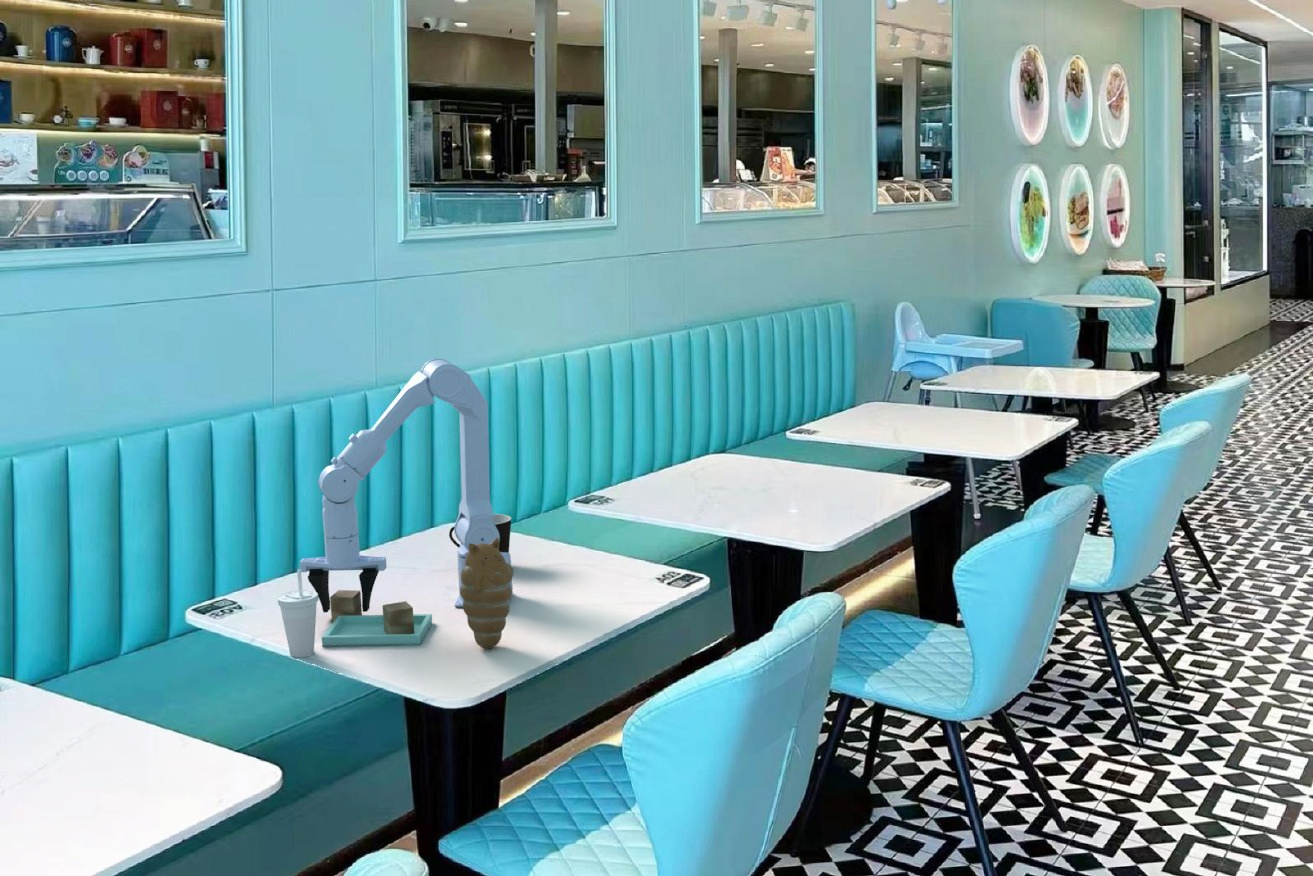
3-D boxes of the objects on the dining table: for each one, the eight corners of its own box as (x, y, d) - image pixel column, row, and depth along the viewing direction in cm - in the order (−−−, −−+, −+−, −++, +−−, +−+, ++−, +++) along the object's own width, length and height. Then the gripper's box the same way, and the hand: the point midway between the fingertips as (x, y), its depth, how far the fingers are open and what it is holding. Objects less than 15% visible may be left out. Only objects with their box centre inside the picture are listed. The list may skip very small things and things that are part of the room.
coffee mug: (522, 566, 258) (520, 516, 256) (494, 577, 251) (492, 526, 249) (476, 558, 264) (474, 510, 262) (448, 569, 257) (445, 520, 255)
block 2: (407, 626, 223) (405, 601, 222) (414, 633, 219) (412, 607, 218) (384, 630, 221) (382, 605, 220) (390, 637, 217) (389, 611, 217)
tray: (432, 623, 225) (431, 614, 225) (420, 645, 214) (419, 635, 214) (339, 624, 225) (338, 615, 225) (322, 646, 215) (321, 637, 214)
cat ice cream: (476, 660, 207) (470, 550, 203) (452, 647, 213) (447, 539, 209) (524, 648, 212) (520, 540, 208) (500, 635, 218) (495, 530, 215)
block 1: (361, 615, 231) (360, 590, 230) (354, 622, 227) (352, 597, 226) (339, 614, 231) (338, 590, 230) (331, 622, 227) (330, 597, 226)
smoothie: (311, 661, 208) (305, 576, 205) (274, 659, 209) (267, 574, 207) (329, 647, 214) (323, 564, 212) (292, 645, 215) (286, 563, 213)
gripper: (388, 527, 230) (392, 602, 232) (305, 529, 230) (311, 603, 233) (379, 538, 223) (384, 615, 226) (294, 540, 223) (300, 616, 226)
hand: (346, 610), depth 229 cm, fingers open, 6 cm apart
